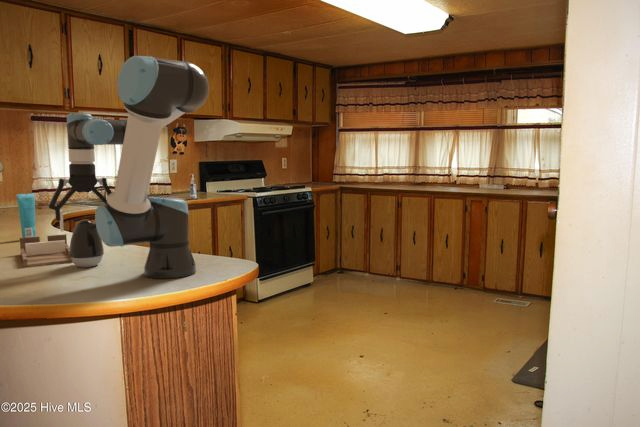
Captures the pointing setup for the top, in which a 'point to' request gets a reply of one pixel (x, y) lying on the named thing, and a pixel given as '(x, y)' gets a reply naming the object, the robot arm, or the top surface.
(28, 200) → the tube
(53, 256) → the brown wooden tray
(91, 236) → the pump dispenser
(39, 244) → the pusher
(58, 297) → the top surface
